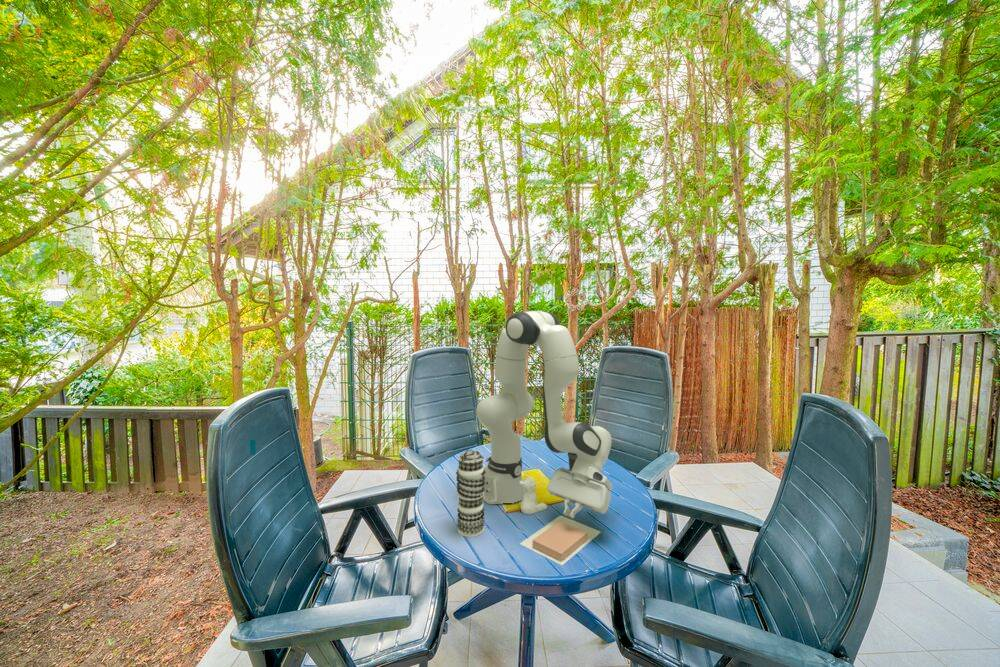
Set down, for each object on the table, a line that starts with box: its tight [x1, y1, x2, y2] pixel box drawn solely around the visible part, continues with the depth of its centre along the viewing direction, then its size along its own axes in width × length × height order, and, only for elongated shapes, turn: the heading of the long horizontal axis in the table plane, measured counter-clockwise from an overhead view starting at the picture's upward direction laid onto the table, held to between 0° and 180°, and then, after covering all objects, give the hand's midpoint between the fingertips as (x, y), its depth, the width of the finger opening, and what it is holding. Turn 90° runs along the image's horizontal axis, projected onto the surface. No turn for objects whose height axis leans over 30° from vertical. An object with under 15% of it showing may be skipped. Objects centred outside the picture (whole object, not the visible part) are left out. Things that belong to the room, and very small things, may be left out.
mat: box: [519, 515, 602, 566], centre depth 123 cm, size 15×22×1 cm
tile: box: [533, 521, 587, 561], centre depth 120 cm, size 10×2×14 cm
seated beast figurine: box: [519, 477, 548, 515], centre depth 140 cm, size 10×9×12 cm
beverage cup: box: [567, 452, 577, 470], centre depth 166 cm, size 7×7×20 cm
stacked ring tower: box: [455, 449, 486, 538], centre depth 128 cm, size 9×9×25 cm
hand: (568, 516), depth 123 cm, fingers closed
